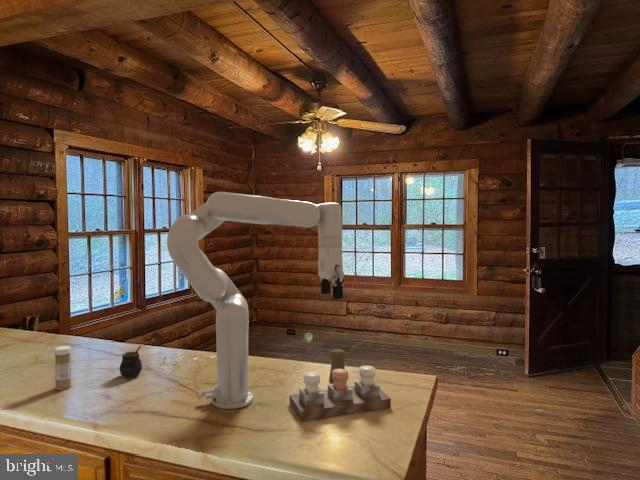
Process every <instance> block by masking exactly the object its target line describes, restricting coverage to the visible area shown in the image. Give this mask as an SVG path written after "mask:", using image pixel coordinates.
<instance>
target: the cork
mask: <svg viewBox="0 0 640 480" xmlns="http://www.w3.org/2000/svg"><path fill="white" fill-rule="evenodd" d="M330 359H331V364H330V372H329V379H328V381H329V384H334V380H333V379H332V371H333V370H334V369H345V370H346V368H345V359H346V351H345V350H343V349H341V348H334V349H332V350H331V351H330Z"/></svg>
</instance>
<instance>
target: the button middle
mask: <svg viewBox="0 0 640 480" xmlns="http://www.w3.org/2000/svg"><path fill="white" fill-rule="evenodd" d="M332 379H333V380H334V387H335V388H336V389H337V390H341V389H347V384H348V380H349V371H348V370H347V369H346V368H345V369H334V370H333V371H332Z"/></svg>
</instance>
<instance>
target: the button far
mask: <svg viewBox="0 0 640 480" xmlns="http://www.w3.org/2000/svg"><path fill="white" fill-rule="evenodd" d="M358 374H359V376H360V380H361V384H363V385H364V386H371V385H374V381H375V377H376V368H375V367H374V366H371V365H361V366H359V373H358Z"/></svg>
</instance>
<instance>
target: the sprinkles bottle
mask: <svg viewBox="0 0 640 480" xmlns="http://www.w3.org/2000/svg"><path fill="white" fill-rule="evenodd" d="M53 352H54V358H55V359H54V360H55V361H54V362H55V363H54V365H55V366H54V368H55V371H54V372H55V373H54V374H55V375H54V376H55V389H56V390H58V391H64V390H68V389H70V388H71V387H72V378H71V377H72V367H71V365H72V363H71V353H72V349H71V346H70V345H61V346H57V347H55V348H54V350H53Z"/></svg>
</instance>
